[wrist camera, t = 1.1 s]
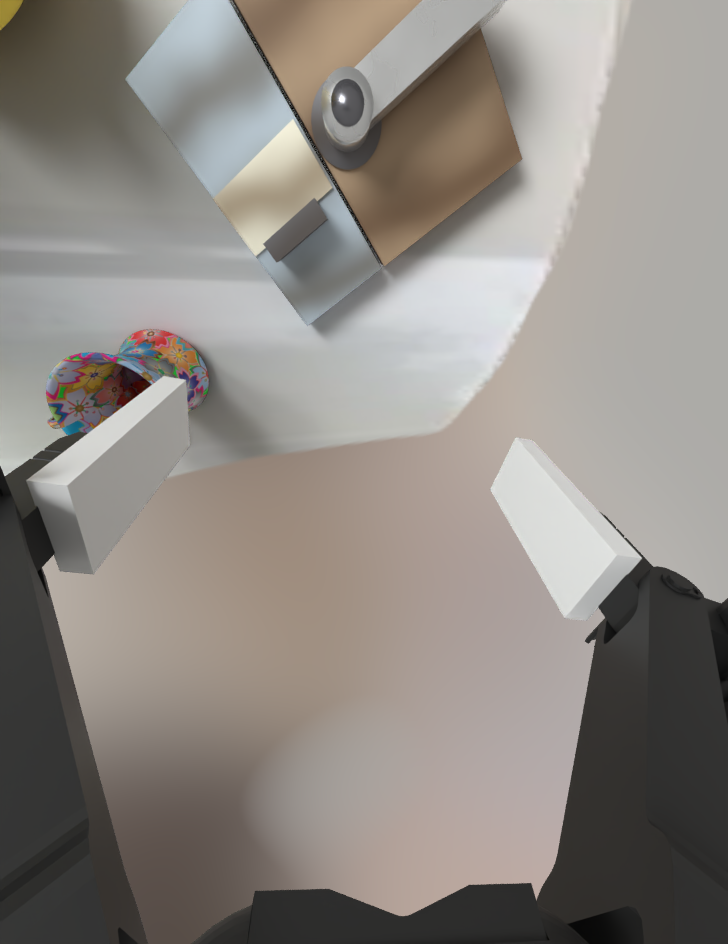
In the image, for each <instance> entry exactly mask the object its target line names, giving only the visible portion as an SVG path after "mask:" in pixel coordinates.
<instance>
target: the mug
mask: <svg viewBox="0 0 728 944" xmlns="http://www.w3.org/2000/svg"><path fill="white" fill-rule="evenodd" d="M163 376H167V377H172V378H178V379H184V380H186V387H187V402H188V411H190V410H193V409H195V408H196V407H198V406H199V405H200V404H201V403H202V402H203V400H204V399H205V397H206V395H207V392H208V388H209V377H208V372H207V369H206V366H205V364H204V362H203V360H202V358H201V357H200V355H199V354H198V353H197V351H196V350H195V349H194V348H193V347H192V346H191V345H190V344H188V343H187V342H186V341H184V340H183V339H181V338H180V337H178V336H176V335H174V334H171V333H169V332H166V331H161V330H142V331H138V332H136V333H134V334H132V335H130V336H129V337H128V338H127V339H126V340H125V341H124V342H123V344H122V345H121V348H120V350H119V353H118V355H114V356H113V355H109V354H104V353H80V354H75V355H72V356H70V357H67V358H65V359H63V360H62V361H61V362H59V363H58V364H57V365H56V366H55V367H54V368H53V370H52V371H51V373H50V375H49V377H48V380H47V385H46V397H47V402H48V405H49V408H50V410H51V413H52V415H53V417H51V418H50V419H49V420H48V424H49V425H50V426H51V427H52V428H54V429H58V428H62V429H63V431H64V432H65V433H66V434H67V435H71V434H74V433H76V432H84V433H89V432H91V431H92V430H93V429H95V428H96V427H97V426H98V425H100V424H101V423H102V422H104V421H105V420H106V419H108V418H109V417H110V416H112V415H113V414H114V413H116V412H117V411H118V410H120V409H121V408H122V407H124V406H125V405H126V404H127V403H129V402H130V401H131V400H133V399H134V398H135V397H137V396H138V395H139V394H141V393H142V392H143V391H145V390H146V389H147V388H149V387H150V386H151V385H152V384H154V383H155V382H156V381H158V380H159V379H160V378H162V377H163Z"/></svg>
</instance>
